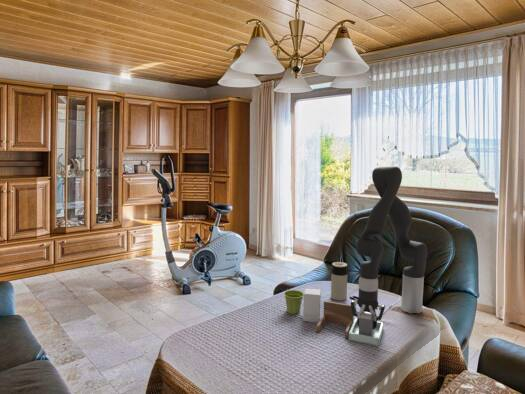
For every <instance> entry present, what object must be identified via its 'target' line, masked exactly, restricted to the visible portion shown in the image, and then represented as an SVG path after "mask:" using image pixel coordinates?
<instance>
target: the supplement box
mask: <svg viewBox="0 0 525 394" xmlns="http://www.w3.org/2000/svg"><path fill="white" fill-rule="evenodd" d="M303 293H304V296H303V312H302V313H303V315H302V316H303V317H302V321H303V322H311V323H318V322H319V321H320V319H321V318H320V317H321V299H322V298H321V296H322V295H321V293H322V292H321V289H320V288H319V289H316V288H304V292H303Z"/></svg>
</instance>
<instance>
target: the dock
mask: <svg viewBox="0 0 525 394" xmlns="http://www.w3.org/2000/svg"><path fill="white" fill-rule="evenodd" d="M354 318H355V316H353V313H352V308H351V304H346V303H341V302H334V301H327V300H324V301H323V315H322V316H321V318H320V319H319V322H317V324H316V325H315V326H316V328H315V332H316V334H319V333H320V331H321V330H322V328H323V326H324V325H325V324H326V322H327V323H331V324H332V323H334V324H338V325H345V326H346V329H345V332H344V333H345V334H344V339H346V340H349V332H350V330H351V327H352V325H353V323H354V321H355V319H354Z"/></svg>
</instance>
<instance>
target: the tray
mask: <svg viewBox="0 0 525 394" xmlns="http://www.w3.org/2000/svg"><path fill="white" fill-rule="evenodd" d="M354 318H355V319H354V321H353V325H352V327H351V330H350V332H349V337H348V342H354V343H358V344H359V343H360V344H364V345H369V346H375V347H379V346H380V343H381V340H382V335H383V332H384V322H383V321H379V320H377V327H376V328H375V329H374V330H373V334H372V337H371V336H366V335H361V334H359V325H358V324H357V319H358V318H357V317H354Z"/></svg>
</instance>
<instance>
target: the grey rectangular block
mask: <svg viewBox="0 0 525 394" xmlns="http://www.w3.org/2000/svg"><path fill="white" fill-rule="evenodd" d="M373 330H374V329H373V316H372V315H371V313H369V312H362V315H360V317H359V334H361V335H366V336H371V337H372V334H373Z"/></svg>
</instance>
